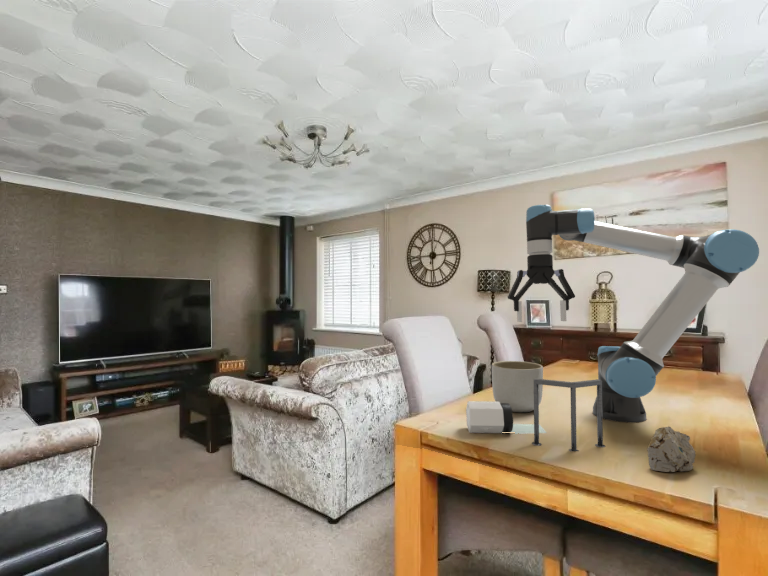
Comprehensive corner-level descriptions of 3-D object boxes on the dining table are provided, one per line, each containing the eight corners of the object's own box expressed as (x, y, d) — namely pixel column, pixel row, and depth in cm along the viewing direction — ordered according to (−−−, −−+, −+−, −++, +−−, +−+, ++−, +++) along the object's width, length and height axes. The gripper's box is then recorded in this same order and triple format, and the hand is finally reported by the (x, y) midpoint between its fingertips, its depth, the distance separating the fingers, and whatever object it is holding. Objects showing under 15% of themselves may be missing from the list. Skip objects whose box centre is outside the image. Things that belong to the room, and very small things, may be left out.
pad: (539, 425, 123) (539, 424, 123) (553, 441, 110) (553, 439, 110) (495, 424, 124) (495, 423, 124) (504, 439, 111) (504, 438, 111)
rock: (675, 471, 84) (671, 422, 88) (644, 468, 89) (642, 422, 94) (711, 482, 88) (705, 435, 92) (679, 479, 93) (675, 434, 98)
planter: (547, 406, 143) (547, 363, 143) (537, 418, 129) (536, 371, 129) (500, 399, 152) (499, 359, 153) (485, 410, 138) (485, 366, 138)
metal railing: (603, 446, 106) (602, 378, 106) (614, 455, 99) (613, 384, 100) (530, 444, 107) (529, 377, 108) (537, 453, 101) (536, 383, 101)
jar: (471, 422, 111) (515, 422, 111) (468, 396, 117) (509, 396, 117) (468, 437, 117) (509, 438, 117) (465, 412, 123) (504, 413, 123)
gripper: (575, 254, 131) (577, 320, 131) (497, 256, 133) (499, 321, 132) (585, 252, 124) (587, 321, 123) (502, 254, 125) (504, 322, 125)
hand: (541, 321), depth 128 cm, fingers open, 13 cm apart
